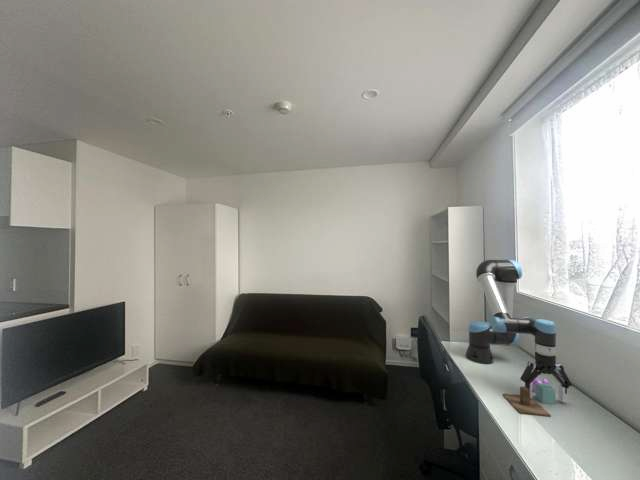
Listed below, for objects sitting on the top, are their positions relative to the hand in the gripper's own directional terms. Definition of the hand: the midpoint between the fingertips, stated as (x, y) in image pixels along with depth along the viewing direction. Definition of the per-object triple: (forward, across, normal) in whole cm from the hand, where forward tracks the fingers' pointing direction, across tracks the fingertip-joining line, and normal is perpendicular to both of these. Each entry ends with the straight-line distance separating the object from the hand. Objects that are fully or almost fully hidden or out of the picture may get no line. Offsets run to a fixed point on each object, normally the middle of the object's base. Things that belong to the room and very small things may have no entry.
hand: (545, 398), depth 122 cm
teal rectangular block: (+1, 0, 0) cm, 1 cm away
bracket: (+1, +4, +12) cm, 13 cm away
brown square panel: (+1, -12, -6) cm, 13 cm away
